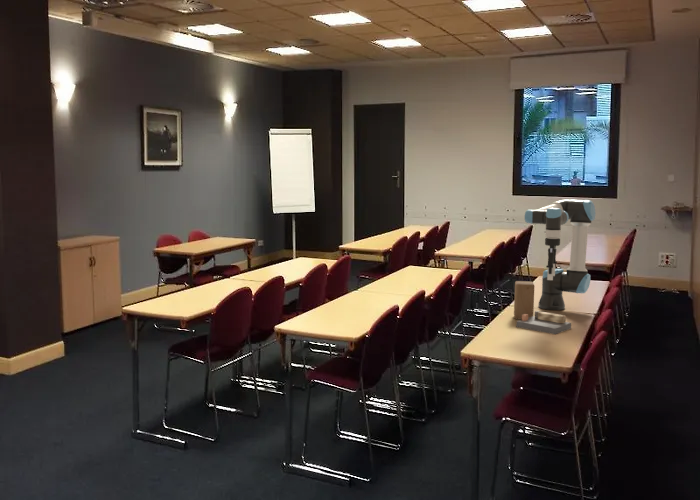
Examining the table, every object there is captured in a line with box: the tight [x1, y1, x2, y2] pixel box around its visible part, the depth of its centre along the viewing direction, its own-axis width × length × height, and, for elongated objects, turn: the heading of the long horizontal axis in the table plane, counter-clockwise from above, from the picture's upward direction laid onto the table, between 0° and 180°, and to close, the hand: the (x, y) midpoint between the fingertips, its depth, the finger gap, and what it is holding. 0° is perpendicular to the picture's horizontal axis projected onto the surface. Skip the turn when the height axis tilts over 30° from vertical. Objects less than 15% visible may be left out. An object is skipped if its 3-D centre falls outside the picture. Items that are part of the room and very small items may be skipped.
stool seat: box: [515, 314, 572, 335], centre depth 345 cm, size 17×22×6 cm
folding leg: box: [534, 310, 567, 323], centre depth 348 cm, size 17×4×4 cm, turn 45°
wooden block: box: [513, 280, 535, 320], centre depth 366 cm, size 10×10×20 cm
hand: (551, 277), depth 347 cm, fingers open, 13 cm apart
